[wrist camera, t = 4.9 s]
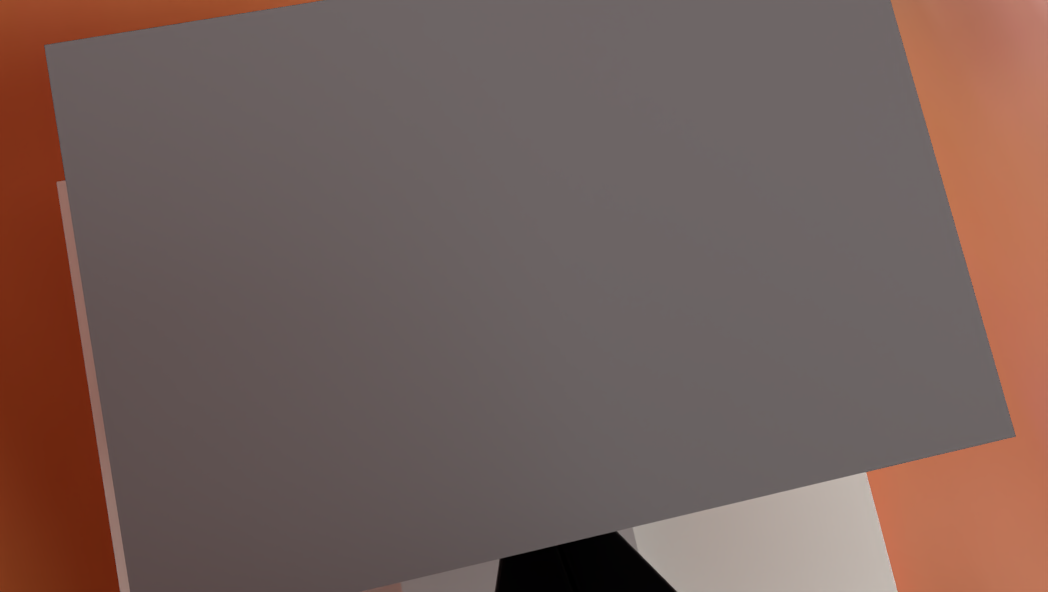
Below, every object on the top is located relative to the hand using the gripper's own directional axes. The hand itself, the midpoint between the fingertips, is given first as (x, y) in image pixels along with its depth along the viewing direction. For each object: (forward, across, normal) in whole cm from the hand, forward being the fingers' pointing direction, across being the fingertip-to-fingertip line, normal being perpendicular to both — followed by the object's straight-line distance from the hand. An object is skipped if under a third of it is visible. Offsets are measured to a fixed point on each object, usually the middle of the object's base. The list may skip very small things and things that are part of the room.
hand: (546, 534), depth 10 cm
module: (+5, 0, +2) cm, 5 cm away
